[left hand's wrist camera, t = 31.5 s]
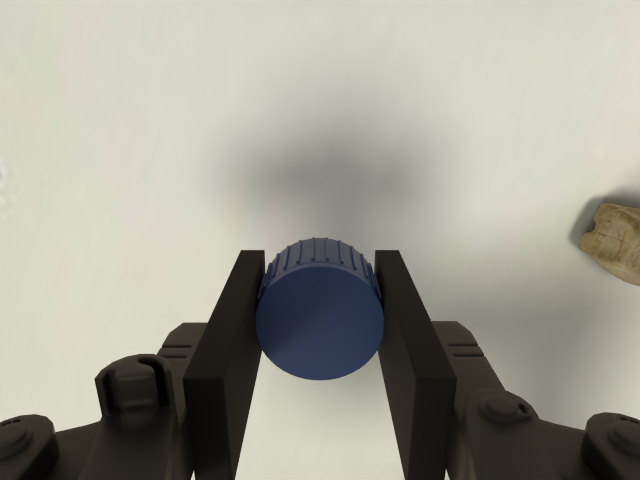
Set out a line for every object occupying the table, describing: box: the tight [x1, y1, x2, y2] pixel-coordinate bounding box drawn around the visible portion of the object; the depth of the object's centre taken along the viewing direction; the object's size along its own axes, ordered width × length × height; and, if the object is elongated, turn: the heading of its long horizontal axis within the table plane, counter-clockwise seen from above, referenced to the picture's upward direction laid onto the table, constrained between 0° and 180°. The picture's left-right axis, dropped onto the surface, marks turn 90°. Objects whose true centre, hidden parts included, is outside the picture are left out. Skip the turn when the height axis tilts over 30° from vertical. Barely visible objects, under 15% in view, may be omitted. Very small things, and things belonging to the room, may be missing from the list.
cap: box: [256, 238, 384, 380], centre depth 13 cm, size 4×4×2 cm
